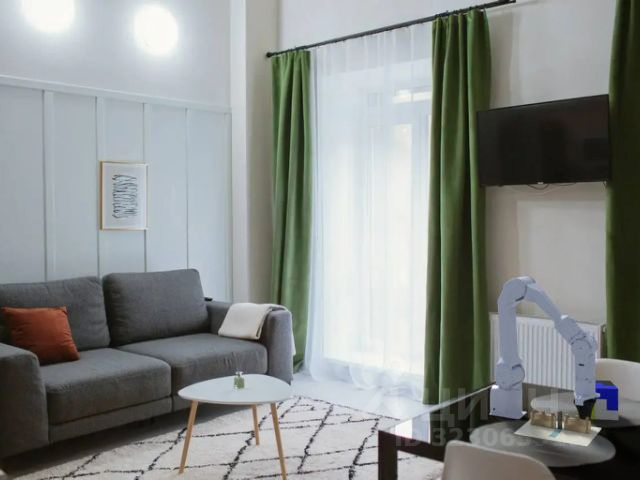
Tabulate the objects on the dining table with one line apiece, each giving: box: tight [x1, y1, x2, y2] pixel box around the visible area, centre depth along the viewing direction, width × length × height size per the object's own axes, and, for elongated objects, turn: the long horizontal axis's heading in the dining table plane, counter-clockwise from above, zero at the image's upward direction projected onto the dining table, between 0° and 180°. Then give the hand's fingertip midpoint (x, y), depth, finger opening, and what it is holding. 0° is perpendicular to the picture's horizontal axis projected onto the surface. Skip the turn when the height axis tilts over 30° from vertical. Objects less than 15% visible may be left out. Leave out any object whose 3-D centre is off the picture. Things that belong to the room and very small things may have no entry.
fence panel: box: [563, 413, 592, 434], centre depth 187 cm, size 7×1×4 cm, turn 55°
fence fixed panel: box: [529, 408, 563, 429], centre depth 192 cm, size 9×1×5 cm, turn 55°
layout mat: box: [513, 419, 602, 447], centre depth 189 cm, size 20×18×1 cm
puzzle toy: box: [591, 379, 619, 421], centre depth 203 cm, size 10×10×10 cm
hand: (585, 423), depth 190 cm, fingers closed
